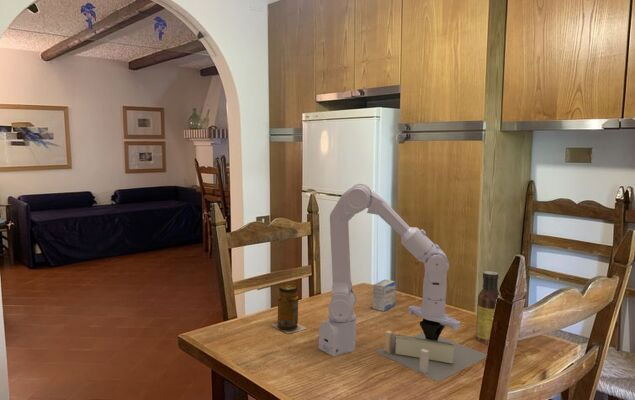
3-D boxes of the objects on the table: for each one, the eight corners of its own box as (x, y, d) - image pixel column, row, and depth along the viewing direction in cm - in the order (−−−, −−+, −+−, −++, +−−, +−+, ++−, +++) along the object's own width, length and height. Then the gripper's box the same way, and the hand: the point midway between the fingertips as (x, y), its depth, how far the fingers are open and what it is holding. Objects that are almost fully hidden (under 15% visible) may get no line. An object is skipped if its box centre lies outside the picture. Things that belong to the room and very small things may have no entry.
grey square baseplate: (437, 384, 105) (439, 359, 104) (373, 353, 120) (374, 331, 119) (489, 358, 119) (491, 336, 118) (426, 333, 134) (427, 313, 133)
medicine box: (383, 312, 151) (384, 286, 151) (372, 309, 154) (373, 283, 153) (395, 305, 158) (396, 281, 157) (383, 303, 160) (384, 278, 159)
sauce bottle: (501, 348, 125) (505, 276, 123) (477, 345, 126) (481, 275, 124) (496, 338, 131) (501, 270, 129) (473, 336, 133) (477, 269, 130)
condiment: (290, 320, 143) (291, 282, 141) (307, 328, 136) (308, 289, 135) (270, 325, 138) (271, 286, 137) (287, 334, 131) (287, 294, 130)
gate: (390, 352, 118) (391, 335, 118) (391, 350, 119) (392, 333, 119) (452, 363, 113) (453, 345, 112) (453, 361, 114) (454, 343, 114)
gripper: (468, 301, 113) (465, 354, 115) (420, 287, 124) (418, 335, 126) (451, 307, 109) (448, 362, 110) (403, 292, 120) (401, 342, 121)
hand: (431, 348), depth 118 cm, fingers closed
